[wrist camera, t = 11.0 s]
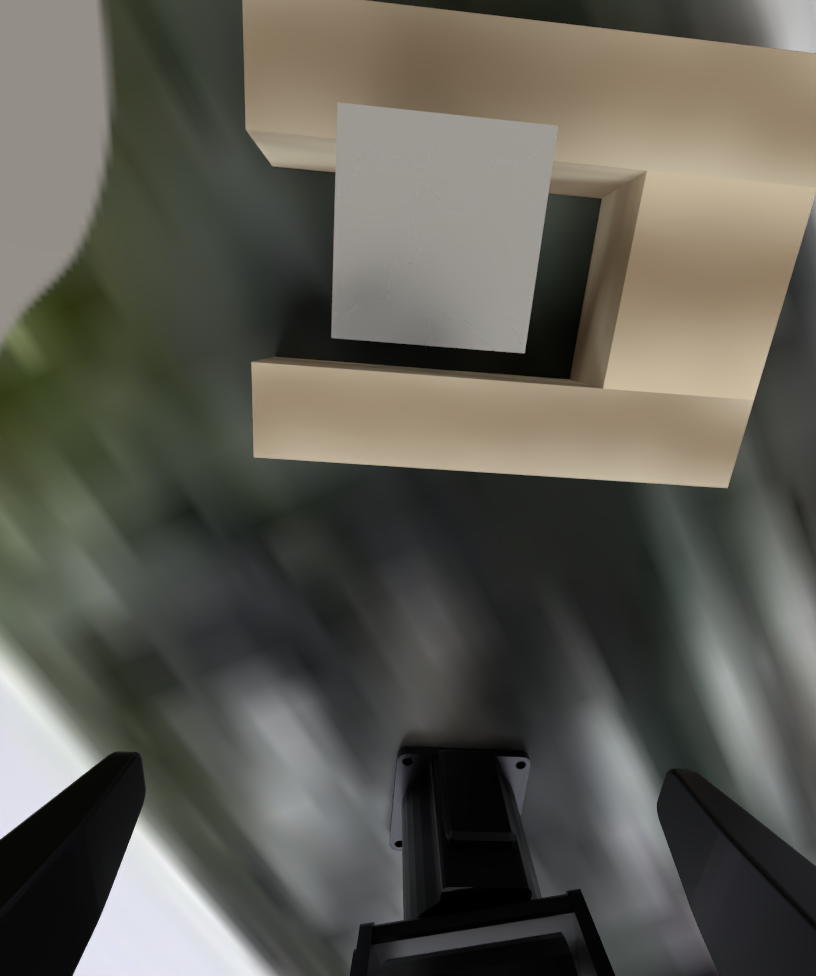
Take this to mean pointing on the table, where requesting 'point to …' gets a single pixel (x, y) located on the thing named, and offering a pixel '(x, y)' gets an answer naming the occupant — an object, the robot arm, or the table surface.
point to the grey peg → (437, 227)
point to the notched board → (617, 246)
